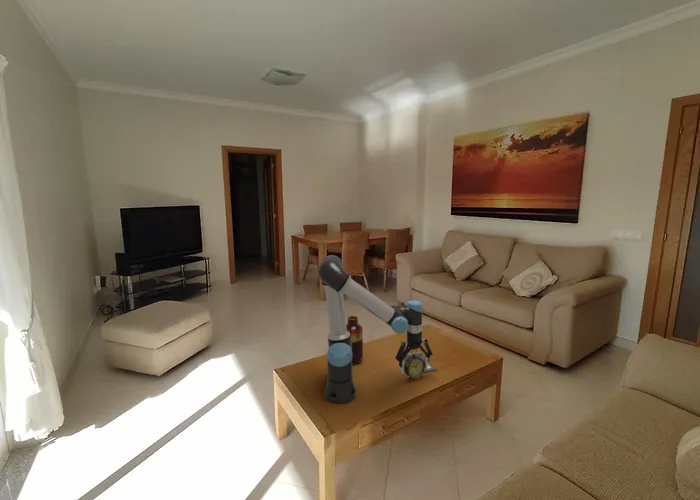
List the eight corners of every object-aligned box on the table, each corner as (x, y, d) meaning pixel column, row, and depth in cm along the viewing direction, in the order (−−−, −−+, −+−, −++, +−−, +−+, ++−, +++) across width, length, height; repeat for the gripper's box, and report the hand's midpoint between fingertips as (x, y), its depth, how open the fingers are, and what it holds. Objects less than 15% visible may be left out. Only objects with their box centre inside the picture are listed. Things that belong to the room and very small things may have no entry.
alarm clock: (408, 383, 170) (408, 353, 167) (401, 378, 175) (402, 348, 172) (425, 378, 175) (426, 348, 172) (418, 373, 179) (419, 344, 177)
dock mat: (418, 374, 179) (418, 368, 178) (403, 359, 195) (403, 354, 195) (436, 370, 182) (437, 365, 182) (420, 356, 199) (420, 351, 198)
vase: (341, 364, 190) (340, 320, 186) (346, 355, 201) (345, 313, 197) (360, 366, 188) (360, 321, 184) (364, 357, 198) (364, 315, 194)
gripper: (395, 337, 164) (395, 378, 167) (439, 330, 171) (439, 369, 174) (388, 331, 171) (388, 370, 174) (432, 325, 178) (431, 363, 181)
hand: (414, 370), depth 174 cm, fingers open, 13 cm apart
